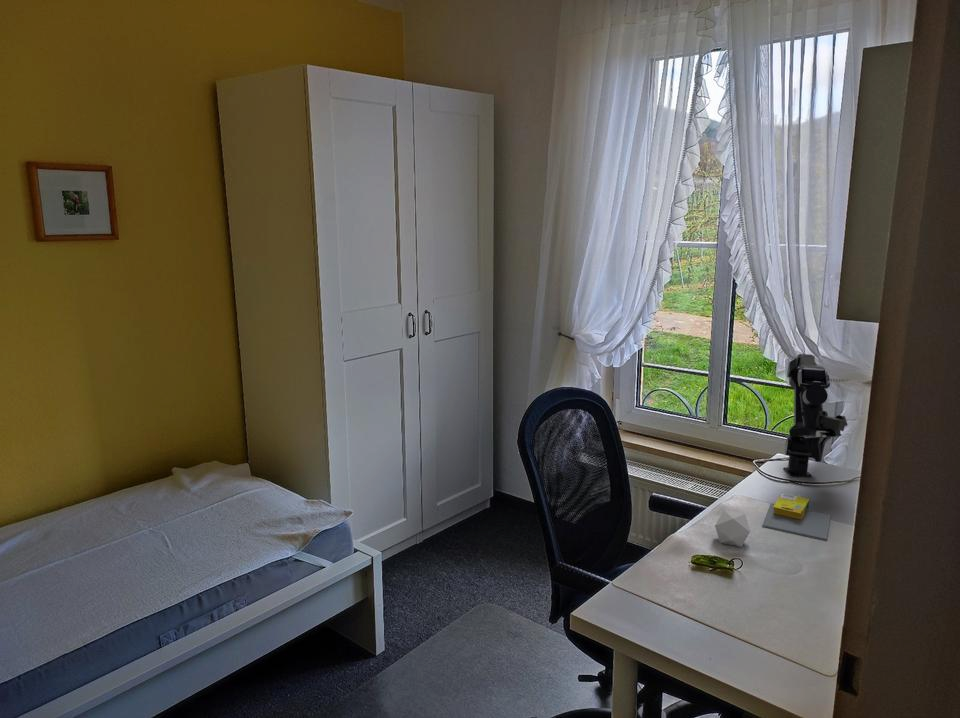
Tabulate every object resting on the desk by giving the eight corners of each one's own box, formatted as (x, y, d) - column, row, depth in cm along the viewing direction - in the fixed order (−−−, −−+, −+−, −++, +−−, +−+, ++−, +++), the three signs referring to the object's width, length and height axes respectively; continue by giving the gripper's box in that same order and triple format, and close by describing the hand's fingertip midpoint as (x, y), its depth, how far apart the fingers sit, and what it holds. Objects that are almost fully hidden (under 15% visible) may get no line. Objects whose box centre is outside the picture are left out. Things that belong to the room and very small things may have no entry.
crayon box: (781, 502, 197) (770, 515, 188) (782, 492, 196) (771, 505, 187) (809, 508, 192) (799, 523, 183) (810, 498, 192) (800, 512, 183)
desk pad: (770, 504, 196) (770, 503, 196) (830, 517, 188) (830, 515, 188) (762, 526, 182) (762, 524, 182) (826, 540, 175) (826, 538, 175)
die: (751, 541, 175) (734, 505, 178) (762, 540, 167) (743, 502, 170) (721, 553, 175) (704, 517, 178) (731, 552, 167) (712, 514, 170)
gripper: (822, 404, 192) (830, 460, 190) (855, 406, 204) (862, 460, 201) (785, 408, 201) (791, 462, 198) (818, 410, 212) (824, 462, 209)
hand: (818, 461), depth 201 cm, fingers closed
